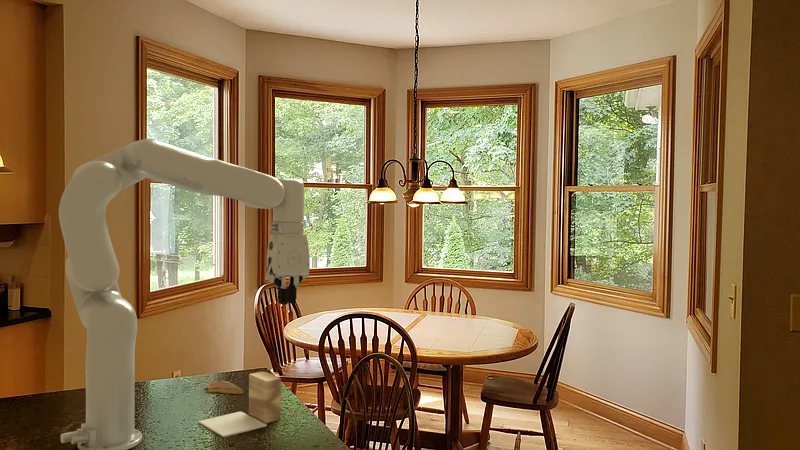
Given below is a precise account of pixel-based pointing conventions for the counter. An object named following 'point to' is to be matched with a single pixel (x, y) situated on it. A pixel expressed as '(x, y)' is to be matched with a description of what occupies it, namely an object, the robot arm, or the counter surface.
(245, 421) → the plastic mat
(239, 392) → the shard
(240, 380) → the counter surface
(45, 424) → the counter surface
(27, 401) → the counter surface
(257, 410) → the wood block
